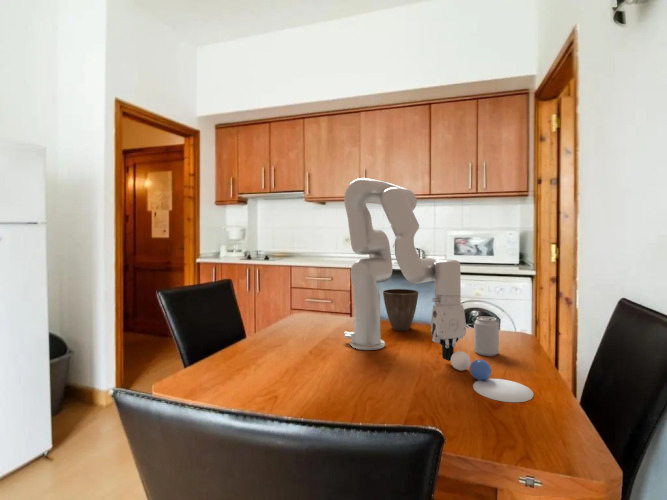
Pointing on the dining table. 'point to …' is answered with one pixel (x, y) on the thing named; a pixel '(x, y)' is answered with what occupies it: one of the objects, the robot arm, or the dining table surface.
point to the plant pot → (400, 307)
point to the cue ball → (460, 360)
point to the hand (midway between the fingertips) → (447, 359)
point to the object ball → (480, 369)
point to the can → (486, 336)
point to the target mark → (503, 390)
